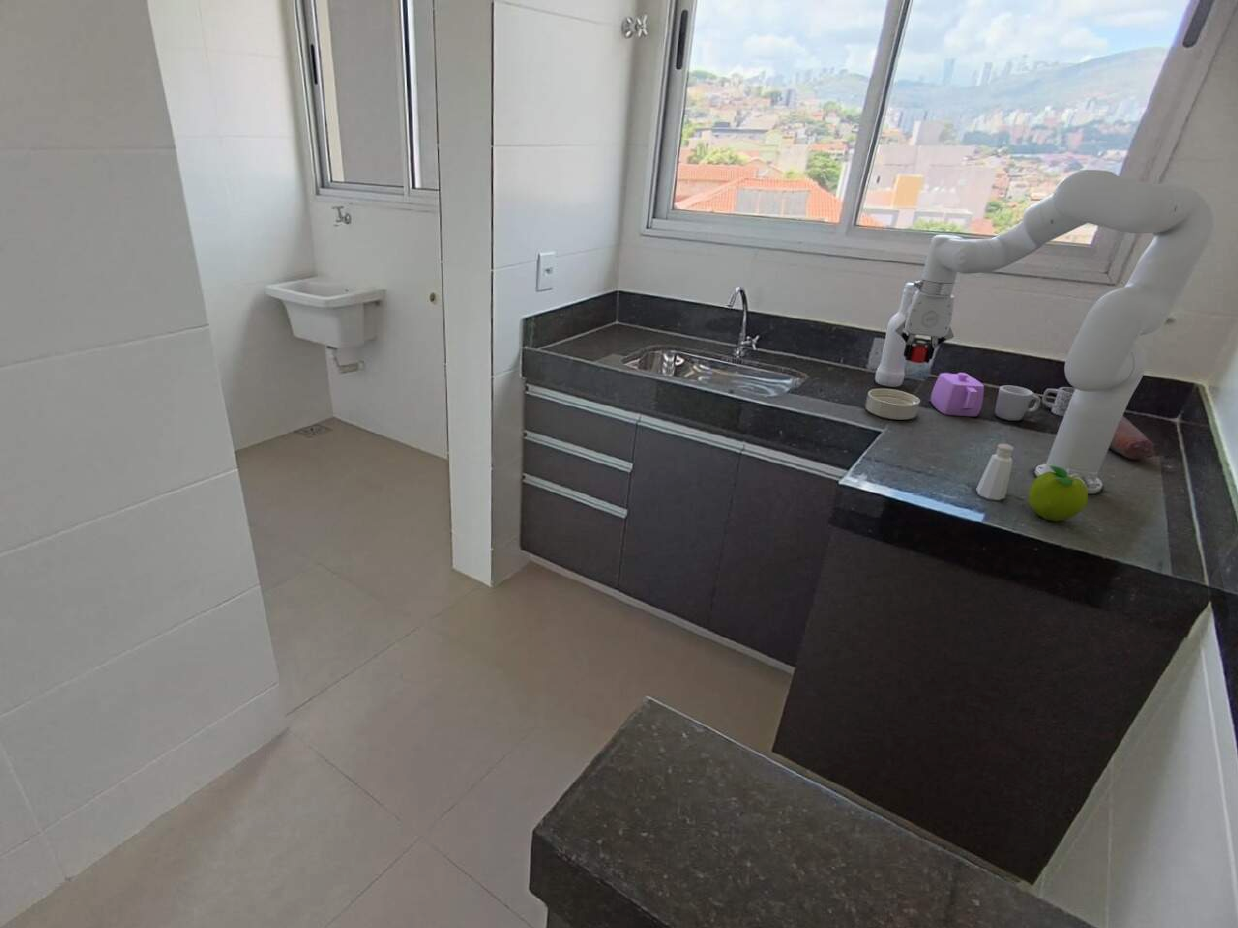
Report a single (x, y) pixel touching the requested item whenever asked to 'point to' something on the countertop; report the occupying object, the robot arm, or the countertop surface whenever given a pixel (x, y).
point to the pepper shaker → (996, 474)
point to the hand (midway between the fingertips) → (916, 359)
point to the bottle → (895, 345)
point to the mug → (1059, 399)
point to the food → (1131, 442)
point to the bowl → (892, 404)
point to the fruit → (1057, 495)
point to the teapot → (957, 394)
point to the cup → (1014, 402)
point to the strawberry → (919, 352)
